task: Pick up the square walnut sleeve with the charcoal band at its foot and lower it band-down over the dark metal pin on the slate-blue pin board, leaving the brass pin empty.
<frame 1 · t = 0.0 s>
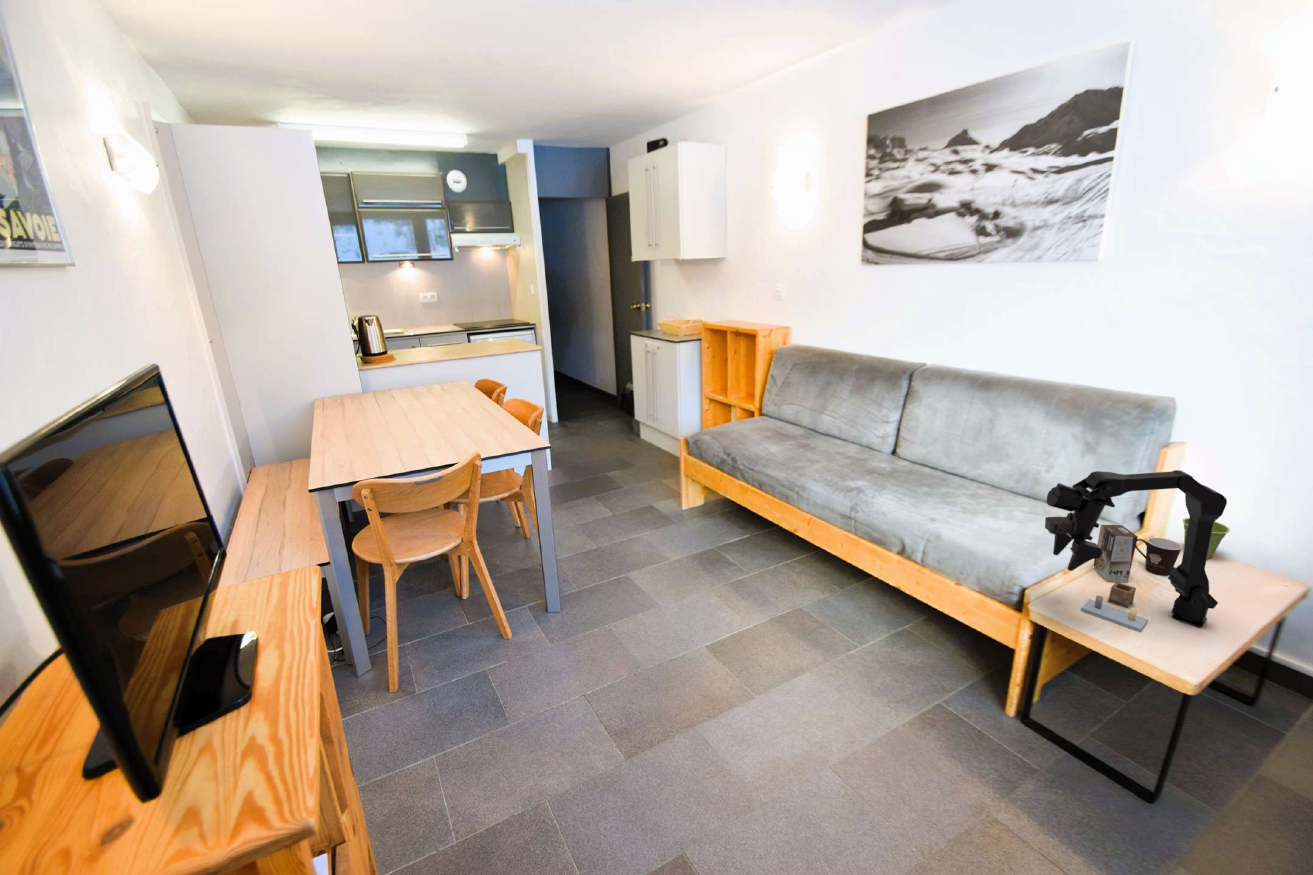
hand: (1062, 562, 169), 15 cm above the table, tool pointing down, fingers open, 9 cm apart
coffee mug: (1154, 569, 193), on the table
sleeve: (1120, 602, 175), on the table
plant pot: (1198, 555, 200), on the table
coffee box: (1109, 575, 190), on the table
pin board: (1113, 616, 169), on the table
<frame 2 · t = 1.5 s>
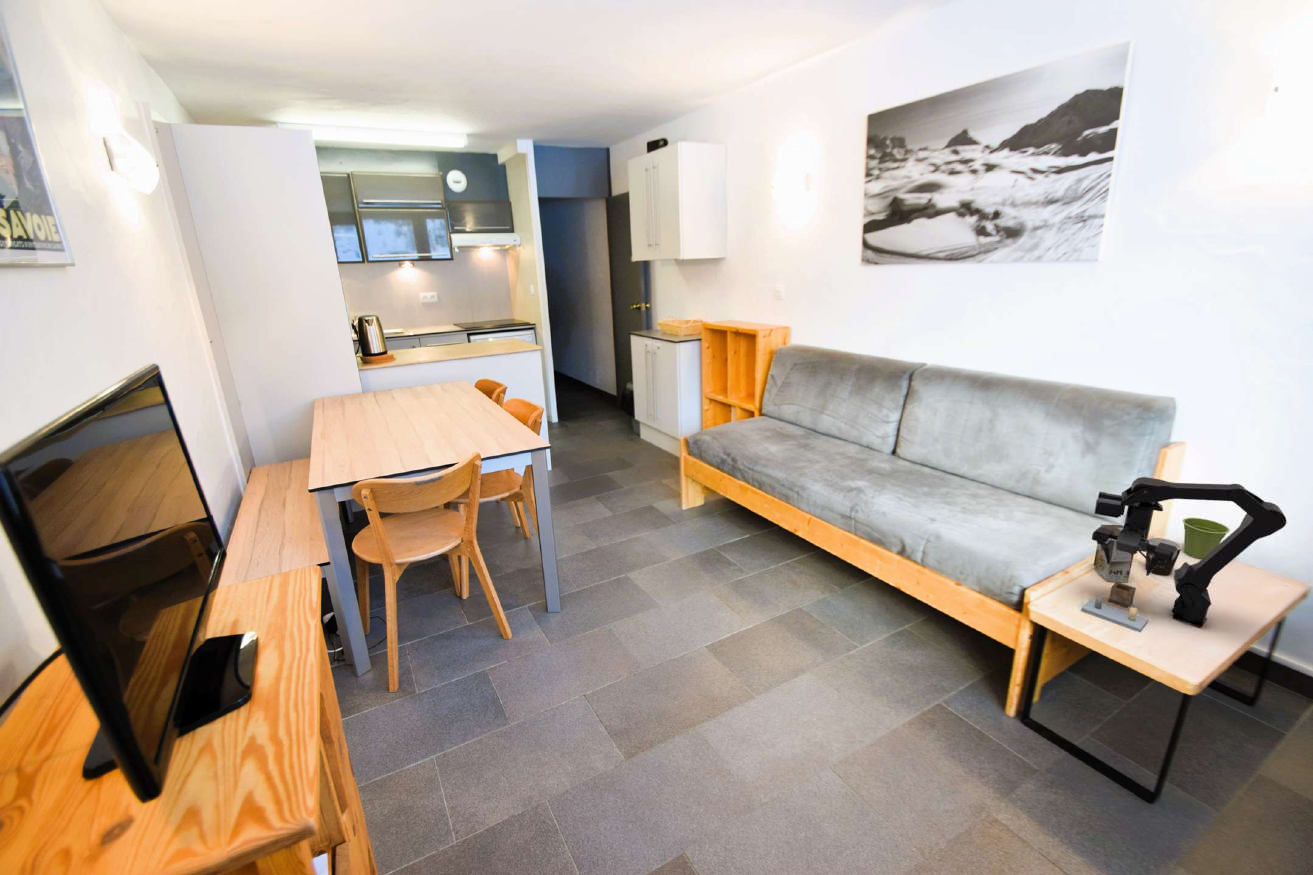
hand: (1127, 569, 172), 11 cm above the table, tool pointing down, fingers open, 9 cm apart
nothing on the table moved.
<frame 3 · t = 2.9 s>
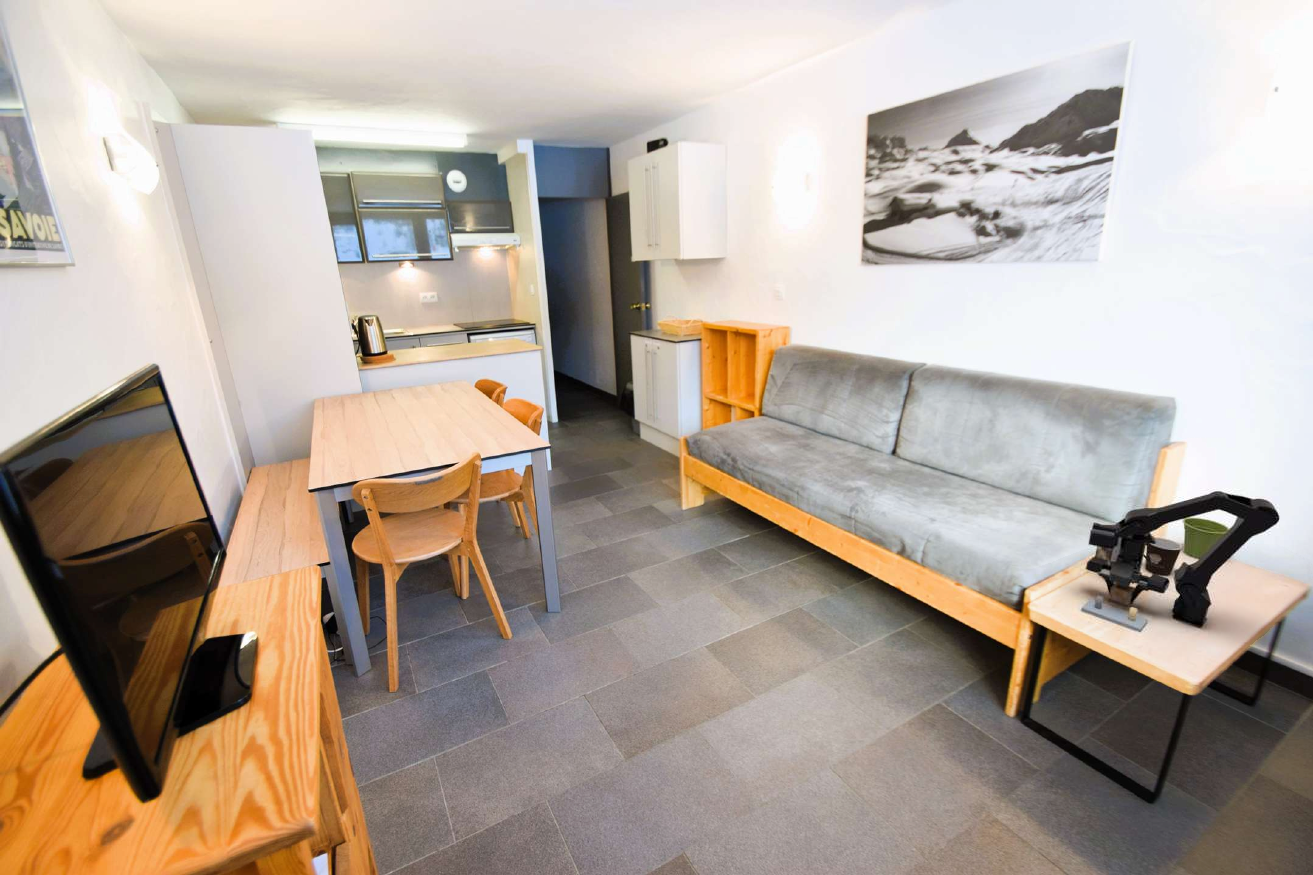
hand: (1121, 599, 175), 1 cm above the table, tool pointing down, fingers closed on sleeve, 5 cm apart
sleeve: (1120, 602, 175), on the table, touching gripper
everything else where it was.
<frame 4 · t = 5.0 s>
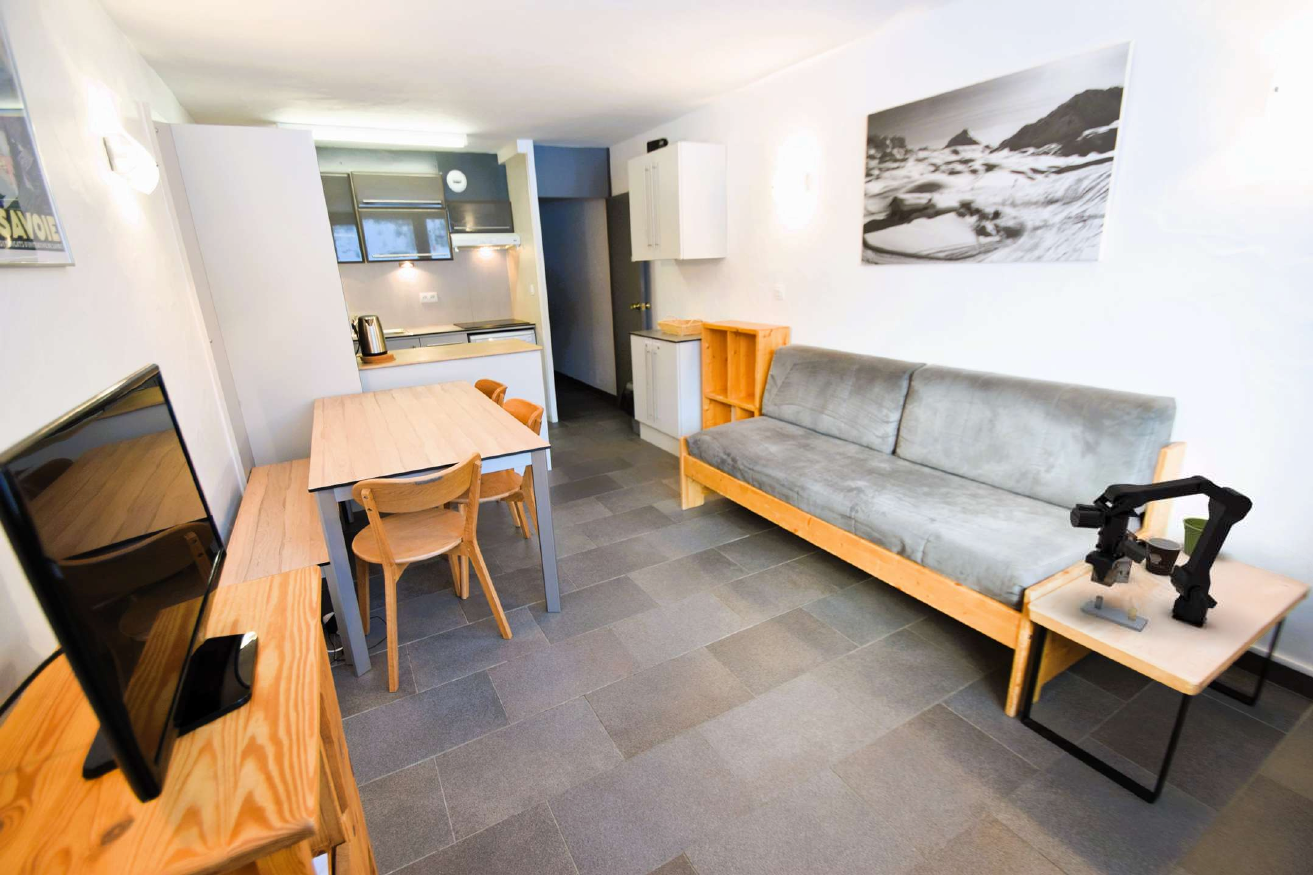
hand: (1103, 578, 169), 11 cm above the table, tool pointing down, fingers closed on sleeve, 5 cm apart
sleeve: (1103, 581, 169), point 10 cm above the table, touching gripper
everything else where it was.
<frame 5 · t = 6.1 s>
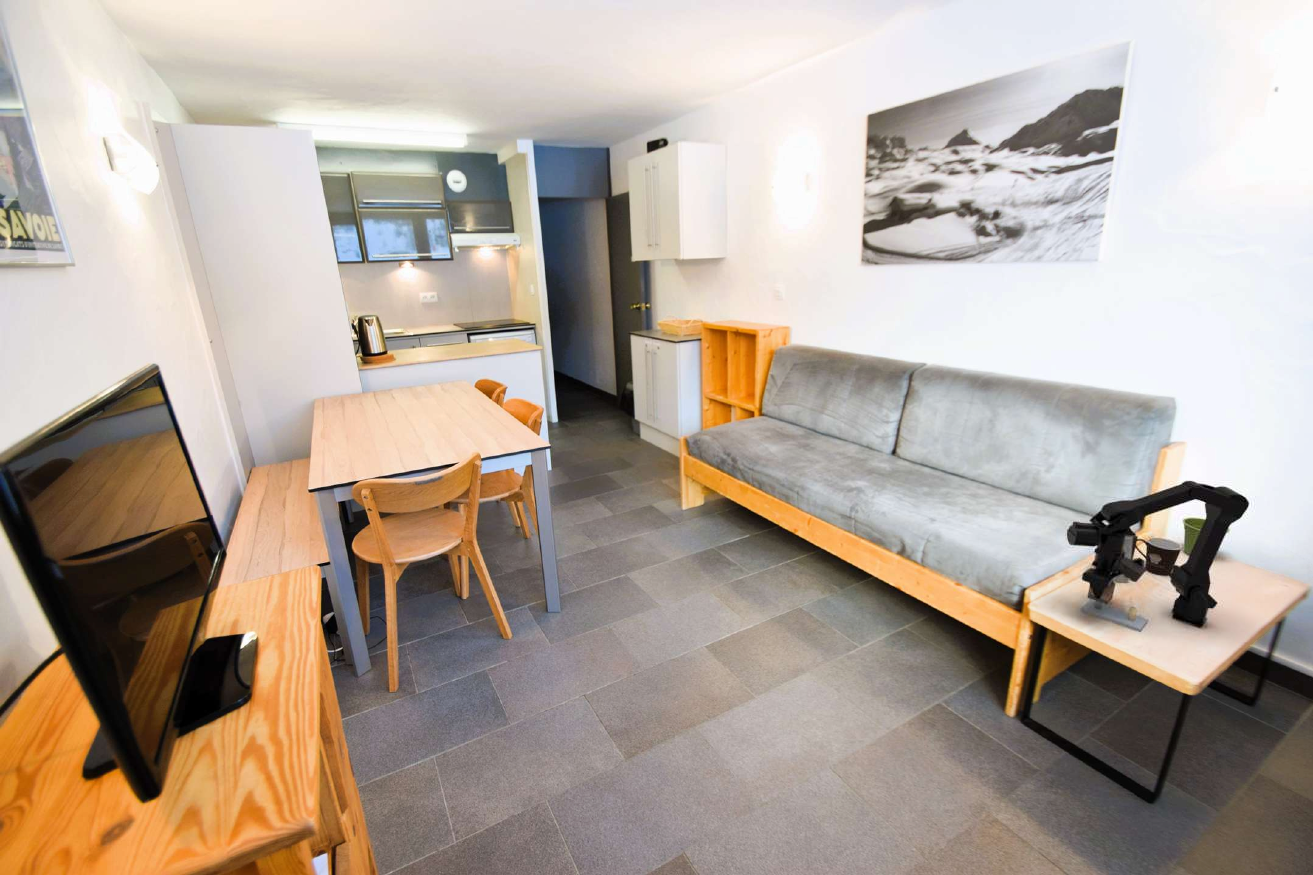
hand: (1100, 595, 170), 5 cm above the table, tool pointing down, fingers closed on sleeve, 5 cm apart
sleeve: (1099, 598, 171), point 4 cm above the table, touching gripper
everything else where it was.
when the fingers open (3 cm above the table, at t = 7.0 s): sleeve stays where it is, resting on pin board.
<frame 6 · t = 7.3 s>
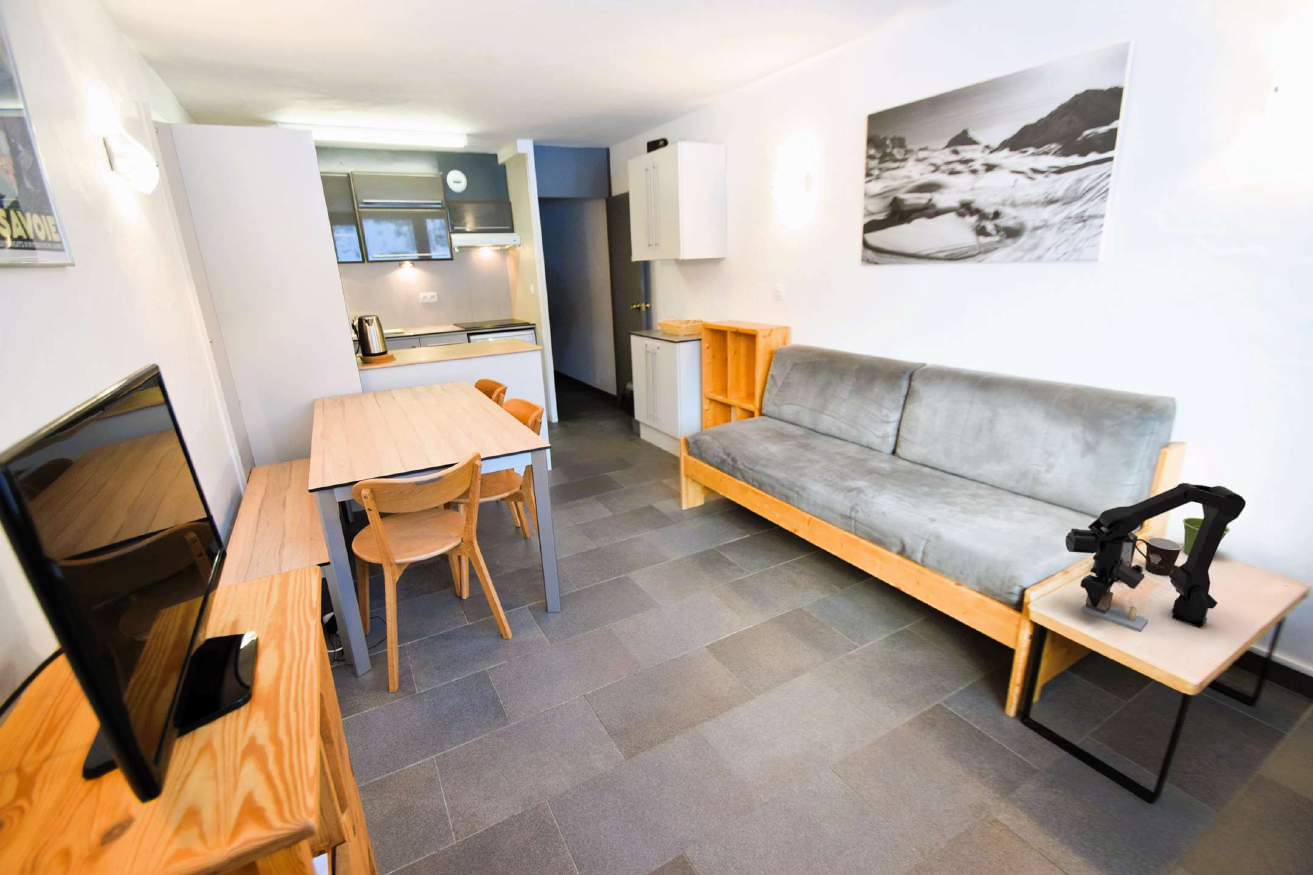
hand: (1099, 601, 171), 3 cm above the table, tool pointing down, fingers open, 7 cm apart
sleeve: (1097, 607, 171), point 1 cm above the table, touching pin board
everything else where it was.
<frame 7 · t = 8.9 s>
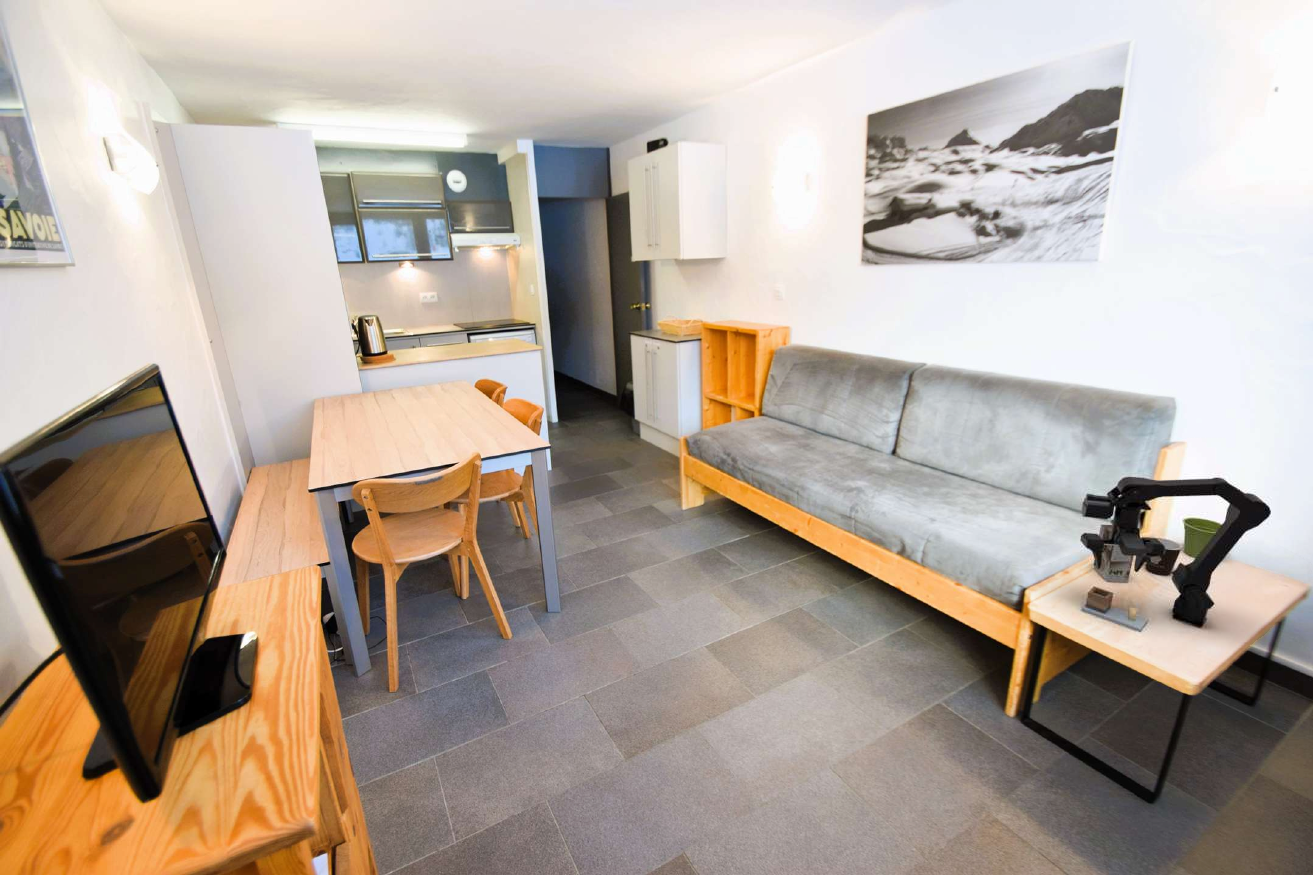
hand: (1116, 569, 171), 12 cm above the table, tool pointing down, fingers open, 9 cm apart
nothing on the table moved.
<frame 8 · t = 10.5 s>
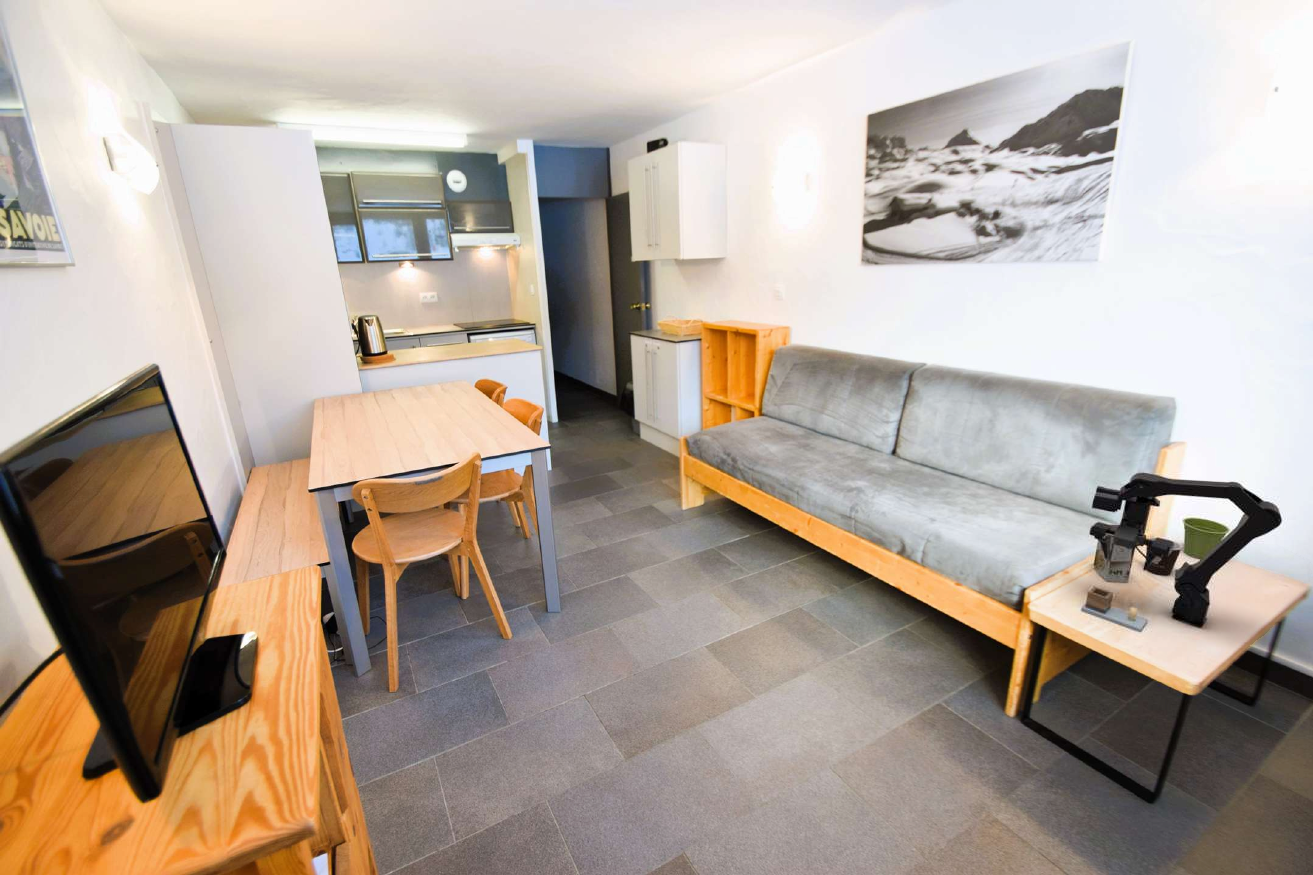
hand: (1124, 564, 173), 12 cm above the table, tool pointing down, fingers open, 9 cm apart
nothing on the table moved.
at the end: sleeve 0.0 cm from the target spot, point 1.0 cm above the table; sleeve tilted 0°; the gripper is holding nothing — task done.
